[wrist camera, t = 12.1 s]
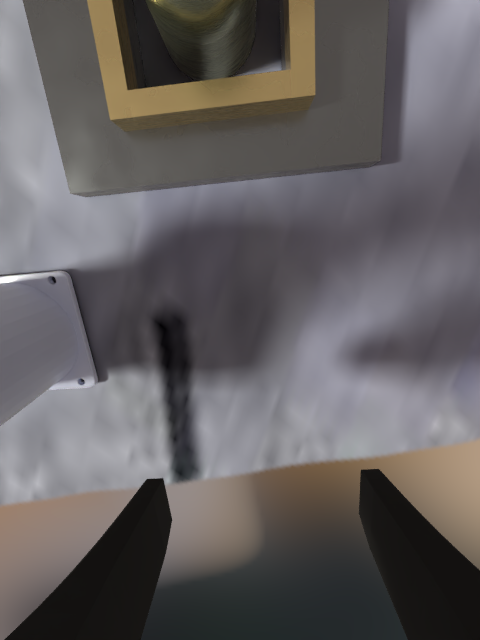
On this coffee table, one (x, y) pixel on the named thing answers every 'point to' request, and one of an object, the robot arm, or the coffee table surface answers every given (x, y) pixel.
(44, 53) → the square peg board
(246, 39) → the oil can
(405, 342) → the coffee table surface
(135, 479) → the coffee table surface
